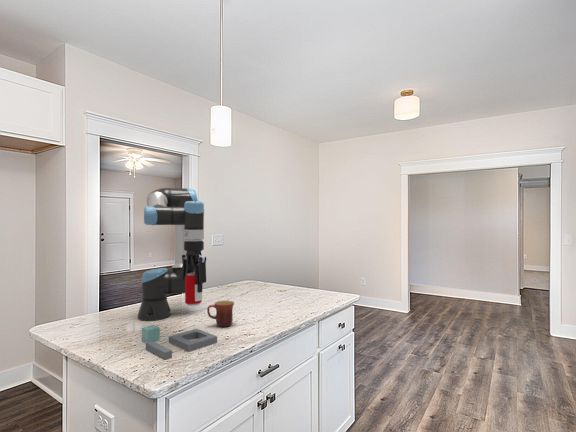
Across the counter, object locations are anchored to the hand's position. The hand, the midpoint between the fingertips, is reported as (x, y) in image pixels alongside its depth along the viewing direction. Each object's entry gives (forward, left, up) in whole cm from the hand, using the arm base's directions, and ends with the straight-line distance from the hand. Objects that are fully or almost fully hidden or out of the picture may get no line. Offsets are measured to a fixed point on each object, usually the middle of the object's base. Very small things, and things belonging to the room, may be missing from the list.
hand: (193, 299), depth 133 cm
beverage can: (0, 0, -2) cm, 2 cm away
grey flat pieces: (0, -5, -17) cm, 18 cm away
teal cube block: (-15, -10, -17) cm, 25 cm away
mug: (-9, +20, -17) cm, 28 cm away
